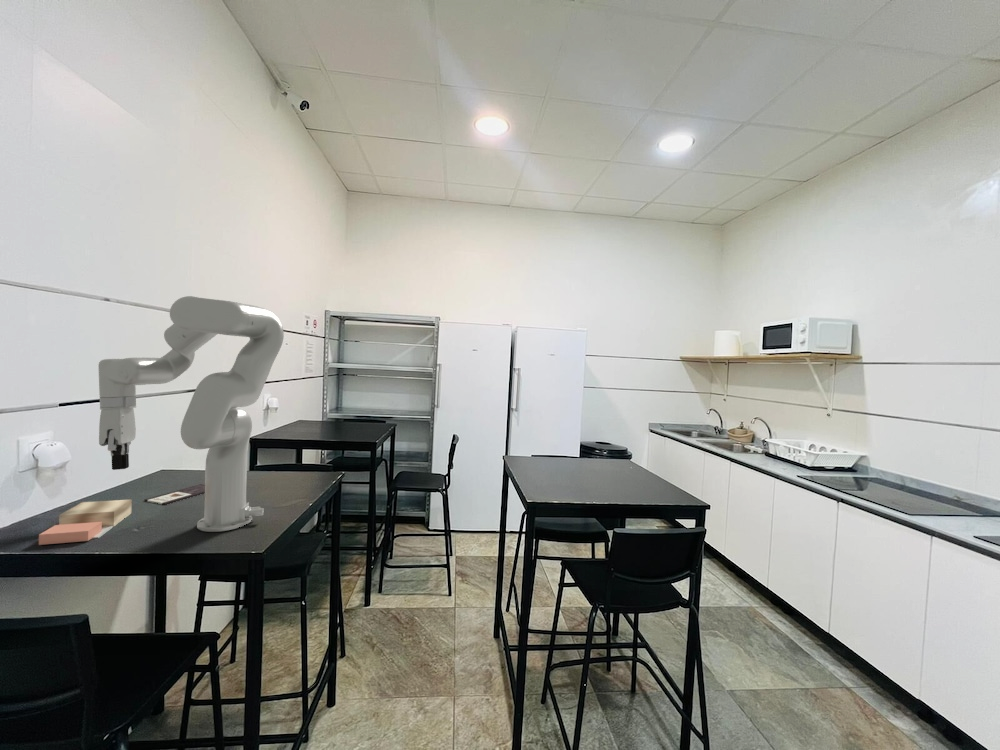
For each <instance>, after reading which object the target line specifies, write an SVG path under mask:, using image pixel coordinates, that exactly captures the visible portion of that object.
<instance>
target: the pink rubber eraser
mask: <svg viewBox="0 0 1000 750" xmlns="http://www.w3.org/2000/svg"><path fill="white" fill-rule="evenodd" d="M101 531H102V522H91V523H77V524H63V525H59V524H54V525H52V526H51V527H50V528H48V529H46V530H45V531H42V532H41V533H39V534H38V546H42V545H54V544H56V545H57V544H65V543H78V542H88V541H90V540H92V539H91V538H93V537H94V536H96V535H97V534H98V533H100V532H101Z"/></svg>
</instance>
